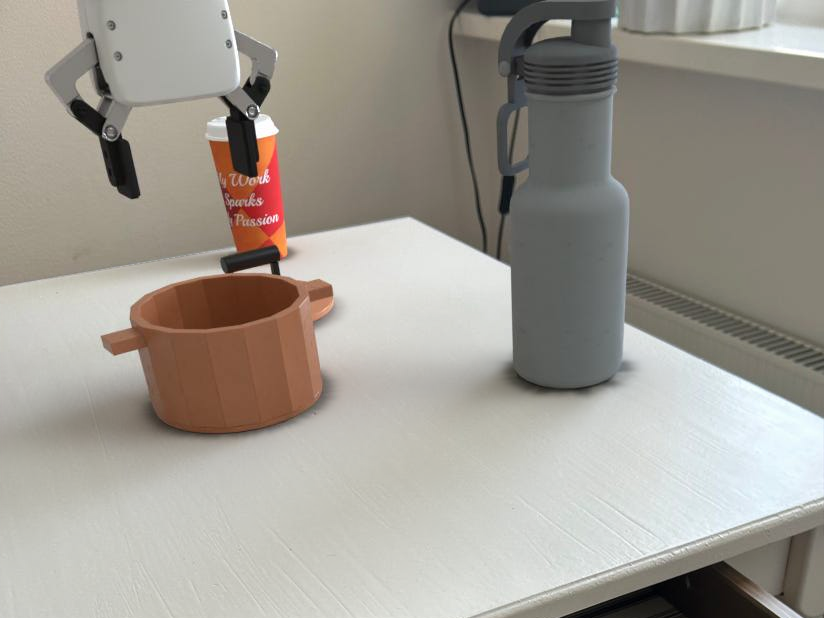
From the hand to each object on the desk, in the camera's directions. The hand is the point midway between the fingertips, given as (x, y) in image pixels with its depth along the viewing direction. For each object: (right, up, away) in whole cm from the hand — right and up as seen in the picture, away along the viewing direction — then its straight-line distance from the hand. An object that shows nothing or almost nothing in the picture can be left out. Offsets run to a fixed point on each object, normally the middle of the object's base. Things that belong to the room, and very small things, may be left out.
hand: (189, 184), depth 76 cm
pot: (+1, -14, +11) cm, 18 cm away
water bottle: (+30, -11, +12) cm, 35 cm away
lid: (-1, -1, +27) cm, 27 cm away
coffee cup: (-4, +12, +44) cm, 46 cm away
